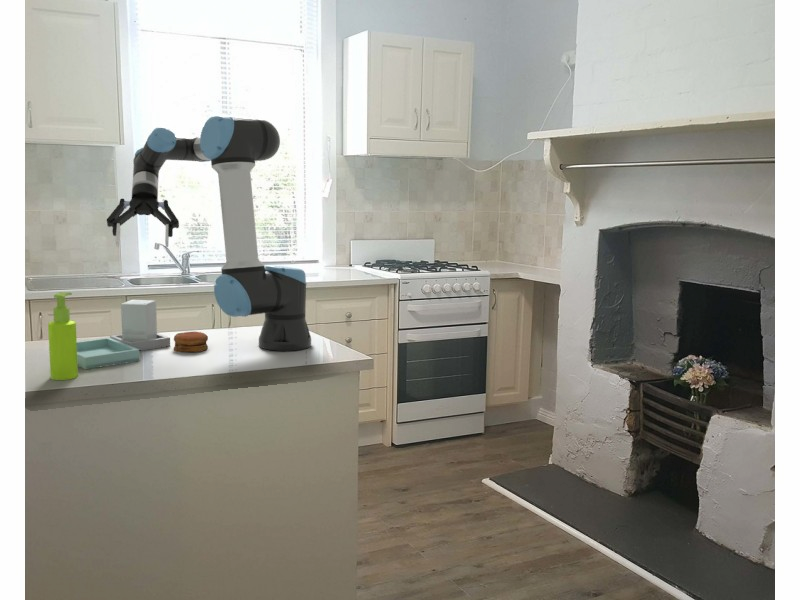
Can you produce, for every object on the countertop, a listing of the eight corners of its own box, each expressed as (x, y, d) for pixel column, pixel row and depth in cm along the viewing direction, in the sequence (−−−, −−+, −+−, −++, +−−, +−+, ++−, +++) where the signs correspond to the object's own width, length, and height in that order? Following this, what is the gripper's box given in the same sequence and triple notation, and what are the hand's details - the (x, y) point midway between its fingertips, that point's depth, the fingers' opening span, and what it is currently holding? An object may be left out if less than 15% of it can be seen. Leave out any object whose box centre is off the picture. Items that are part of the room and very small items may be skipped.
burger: (209, 352, 200) (209, 335, 199) (174, 354, 197) (174, 337, 196) (206, 344, 209) (206, 328, 208) (173, 346, 206) (172, 330, 205)
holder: (170, 346, 205) (170, 337, 204) (129, 352, 196) (129, 343, 196) (150, 338, 213) (149, 330, 212) (110, 344, 204) (109, 335, 204)
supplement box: (158, 343, 208) (157, 300, 206) (147, 349, 201) (145, 304, 198) (133, 342, 208) (132, 298, 206) (121, 347, 201) (120, 303, 199)
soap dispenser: (83, 372, 175) (80, 291, 172) (71, 380, 168) (68, 295, 165) (59, 372, 175) (55, 290, 172) (46, 379, 168) (42, 295, 165)
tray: (139, 360, 188) (139, 349, 187) (85, 369, 178) (85, 357, 177) (109, 348, 200) (109, 337, 200) (57, 355, 190) (56, 344, 190)
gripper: (187, 199, 228) (187, 252, 217) (103, 197, 222) (97, 251, 210) (187, 183, 222) (186, 236, 211) (100, 180, 216) (94, 234, 204)
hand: (142, 243), depth 210 cm, fingers open, 13 cm apart
